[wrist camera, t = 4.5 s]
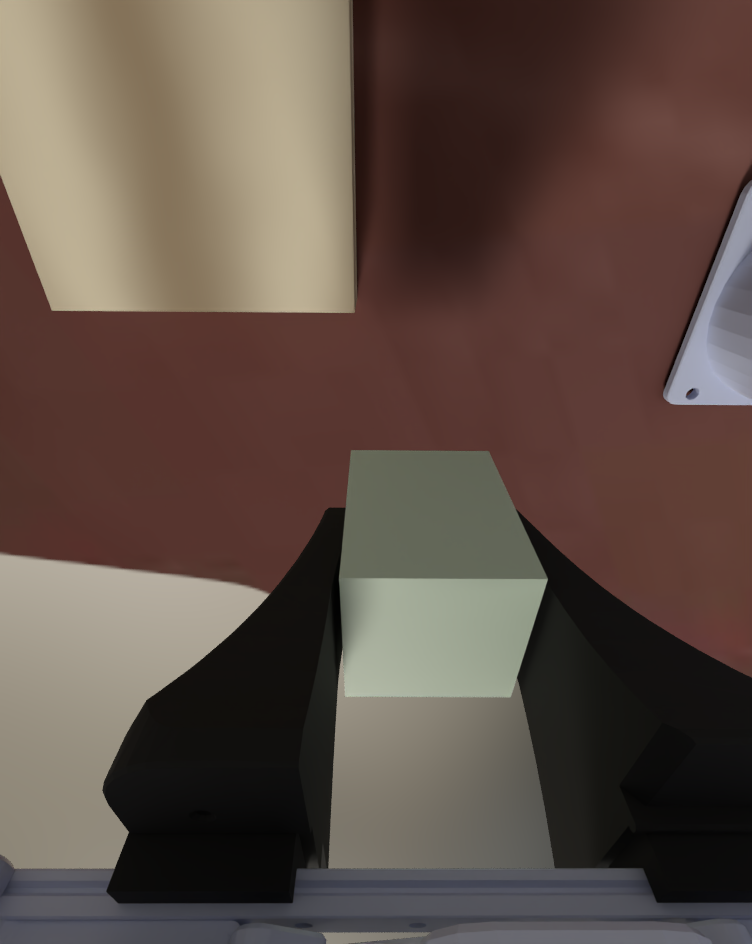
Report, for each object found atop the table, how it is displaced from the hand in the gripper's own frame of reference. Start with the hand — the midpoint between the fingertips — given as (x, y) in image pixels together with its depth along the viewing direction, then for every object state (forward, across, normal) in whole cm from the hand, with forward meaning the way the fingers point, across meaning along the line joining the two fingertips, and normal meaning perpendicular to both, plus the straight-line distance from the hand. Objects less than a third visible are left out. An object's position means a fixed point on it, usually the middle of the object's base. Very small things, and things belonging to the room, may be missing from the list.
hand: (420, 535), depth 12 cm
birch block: (+8, +7, -10) cm, 15 cm away
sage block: (+1, 0, 0) cm, 1 cm away
